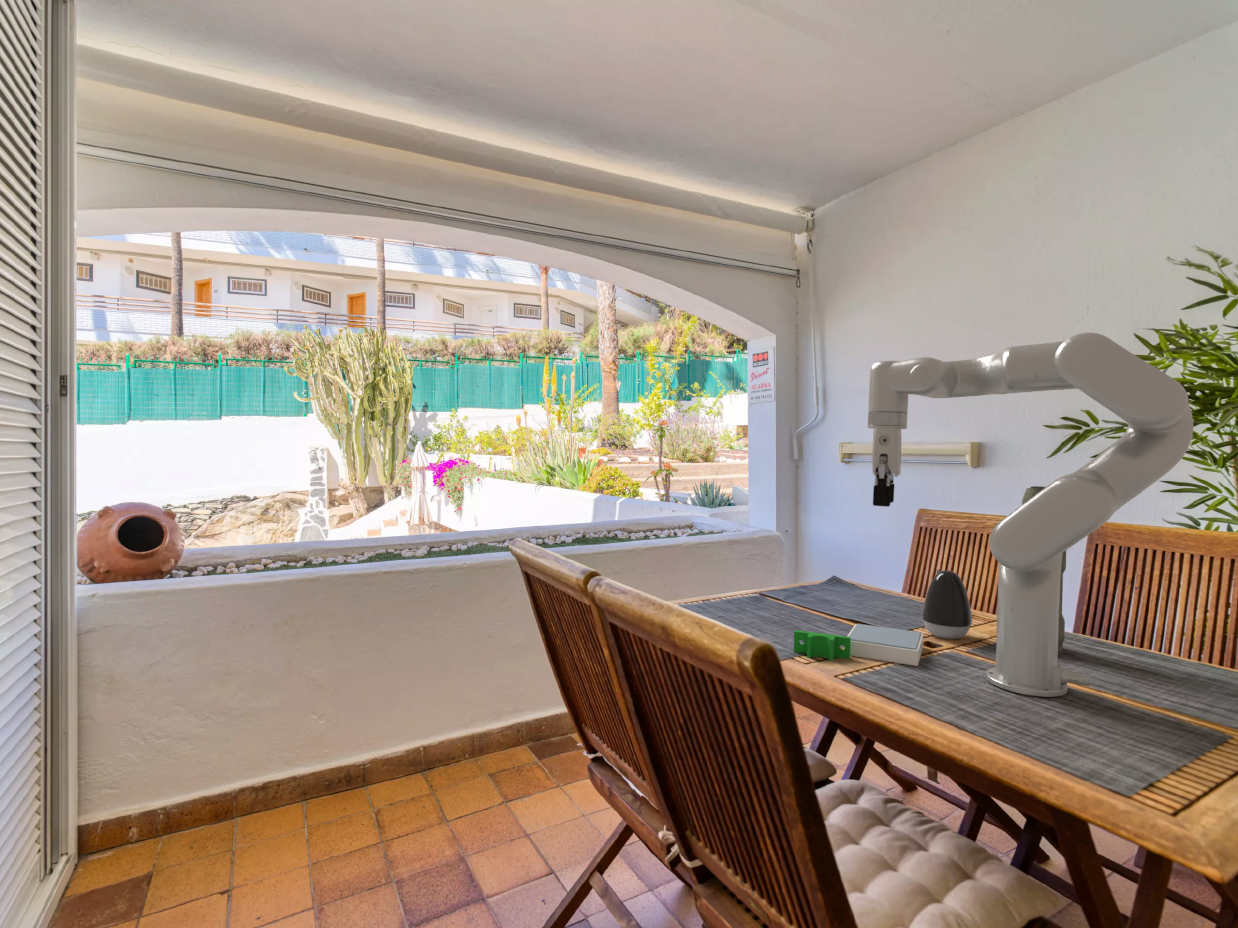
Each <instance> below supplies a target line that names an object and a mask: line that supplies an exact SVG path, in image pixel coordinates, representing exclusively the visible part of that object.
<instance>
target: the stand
mask: <svg viewBox="0 0 1238 928" xmlns="http://www.w3.org/2000/svg"><path fill="white" fill-rule="evenodd" d="M847 637H851V639H850V657H851V656H852V657H857V658H858V657H859V658H863V659H870V660H877V661H882V662H883V661H884V662H889V663H896V664H904V665H909V666H914V667H918V666H919V664H920V663H919V662H920V660H921V656H922V652H923V649H924V633H923V632H921V631H914V630H908V629H907V630H906V629H900V628H899V629H898V628H893V627H884V626H877V625H869V624H864V623H863V624H862V623H857V624H856V623H855V624H854V625H853V627H852V628H851V630H850V631H849V632H848V634H847ZM843 649H845V647H844V646H843Z"/></svg>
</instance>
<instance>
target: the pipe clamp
mask: <svg viewBox="0 0 1238 928" xmlns="http://www.w3.org/2000/svg"><path fill="white" fill-rule="evenodd" d="M847 636H848V635H847ZM847 636H845V635H838V634H837V635H836V634H829V633H823V632H822V633H821V632H814V631H806V630H797V629H796V630H794V631H793V653H800V654H806V658H808V659H811V658H813V657H821V658H826V659H828V660H829V661H830V662H834V660H835V658H837V659H846V660H850V659H851V655H850V639H851V637H847ZM800 641H801V642H802V643H801V642H800ZM841 646H843V648H841ZM844 647H845V649H844Z"/></svg>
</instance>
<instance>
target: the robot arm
mask: <svg viewBox="0 0 1238 928" xmlns="http://www.w3.org/2000/svg"><path fill="white" fill-rule="evenodd" d="M868 387H869V390H868V391H869V392H868V407H867V409H868V410H867V411H868V413H867V429H873V433H872V457H871V458H872V459H871V460H872V464H871V465H872V474H873V475H874V476H875V478H874V485H873V490H872V491H873V495H872V506H875V507H890V506H891V503H892V504H893V502H894V501H895V500H894V499H895V498H894V497H895V482H894V480H895V479H894V477H895V478H897V477H899V476H900V475H901V469H902V468H901V465H902V430H907V428H908V413H909V410H908V409H909V395H915V396H922V397H927V398H931V399H950V398H951V399H952V398H963V397H964V398H965V397H977V396H978V397H979V396H989V395H1007V394H1021V393H1033V392H1045V391H1061V390H1062V391H1063V390H1075V389H1076V390H1077V389H1078V390H1079V391H1080V392H1083V393H1084V394H1085V395H1086V396H1087V397H1089V398H1091V399H1092V400H1094V401H1095V402H1097V403H1098V404H1100V405H1101V406H1103V407H1104V408H1106V409H1107V410H1108V411H1110V412H1111V413H1113V414H1114V415H1116V416H1117V417H1119V418H1120V419H1121V420H1123V421H1124V422H1126V423H1127V428H1126V431H1125V432H1124V434H1122V436H1121V437H1120V438H1119V439H1117V440H1116V441H1115V442H1113V443H1112V444H1110V445H1109V446H1108V447H1107V448H1105V449H1104V450H1102V452H1100V453H1099V454H1098V455H1097V456H1096V457H1094V458H1093V459H1092V460H1090V461H1089V462H1087V463H1086V464H1084V465H1082V466H1081V467H1080V468H1078V469H1077V470H1076V471H1074V472H1072V473H1069V474H1065V475H1062V476H1060V477H1059V478H1056V479H1055V480H1053V481H1052V482H1050V483H1049V484H1047V486H1044V487H1045V488H1044V489H1042V490H1041V491H1040V492H1038V493H1037V494H1036V495H1034V496H1033V497H1032V498H1031V499H1029V500H1028V501H1027V502H1025V503H1024V504H1023V505H1022V504H1021V505H1020V506H1019V507H1017V508H1016V509H1014V511H1012V512H1011V513H1009V514H1008V515H1007V516H1005V517H1004V518H1003V519H1001V520H1000V521H998V522H997V524H996V525H995V526H994V527H993V529H992V530H991V532H990V535H989V538H988V543H989V550H990V552H991V554H992V556H993V557H994V559H995V561H997V563H999V569H998V576H997V577H998V578H997V579H998V581H997V601H996V602H997V604H996V607H997V608H996V636H995V637H996V640H995V642H996V645H995V650H996V651H995V667H991V668H989V669H987V670H986V672H985V678H986V680H987V681H988V682H989V683H991V684H992V685H994V686H996V687H998V688H1000V689H1002V690H1005V691H1009V692H1012V693H1016V694H1019V695H1020V694H1021V695H1025V696H1033V697H1041V698H1042V697H1043V698H1052V697H1053V698H1054V697H1061V696H1064V695H1066V694H1068V688H1069V687H1068V683H1071V684H1076V685H1078V686H1079V685H1080V686H1086V687H1090V682H1091V681H1090V680H1091V677H1090V674H1086V673H1080V671H1079V670H1075V669H1074V670H1073V669H1065V668H1064V667H1062V666H1061V665H1060V661H1059V660H1058V659H1059V658H1058V656H1059V654H1058V626H1059V603H1060V577H1061V564H1062V553H1063V552H1064V551H1066V552H1067V550H1069V549H1070V548H1071V547H1073V546H1075V545H1076V544H1078V543H1079V542H1080V541H1082V540H1083V539H1084V538H1086V537H1087V536H1089V535H1090V534H1092V533H1093V532H1095V531H1096V530H1097V529H1099V528H1100V527H1102V526H1104V524H1106V523H1107V522H1108V521H1109V520H1110V519H1111V517H1112V516H1113V515H1114V513H1116V512H1117V511H1118V510H1119V509H1120V508H1122V507H1123V506H1125V505H1126V504H1127V503H1129V502H1130V501H1132V500H1133V499H1134V498H1136V497H1137V496H1138V495H1140V494H1141V493H1142V492H1144V491H1145V490H1146V489H1148V488H1149V487H1151V486H1152V485H1153V484H1155V483H1156V482H1157V481H1159V480H1160V479H1162V477H1164V476H1166V474H1167V473H1169V472H1170V471H1171V470H1173V469H1174V468H1175V467H1176V465H1177V464H1179V463H1180V461H1181V460H1182V459H1183V457H1184V455H1186V453H1187V451H1188V449H1189V447H1190V444H1191V442H1192V439H1193V435H1194V419H1193V414H1192V410H1191V407H1190V406H1191V405H1190V403H1189V396H1188V393H1187V391H1186V389H1185V387H1184V386H1183V385H1182V383H1180V382H1179V381H1177V380H1176V379H1175V378H1173V377H1172V376H1170V375H1168V374H1167V373H1165V372H1164V371H1161V370H1160V369H1159V368H1156V367H1155V366H1153V365H1152V364H1151V363H1148V362H1147V361H1145V360H1144V359H1142V358H1141V357H1138V356H1137V355H1135V354H1134V353H1132V352H1131V351H1130V350H1127V348H1124V347H1123V346H1121V345H1120V344H1118V343H1116V342H1115V341H1114V340H1112V339H1111V338H1109V337H1107V336H1106V335H1103V334H1100V333H1097V332H1081V333H1077V334H1075V335H1072V336H1071V337H1069V338H1067V339H1065V340H1062V341H1054V342H1045V343H1038V344H1037V343H1036V344H1035V343H1034V344H1026V345H1015V346H1009V347H1005V348H1003V349H1001V350H999V351H996V352H995V353H994V354H991V355H987V356H983V357H978V358H972V359H963V360H961V359H960V360H953V361H952V360H951V361H942V360H940V359H937V358H934V357H928V356H924V357H918V358H917V357H916V358H911V359H907V360H906V359H905V360H885V361H884V360H882V361H877V362H874V363H873V364H872V365H871V366H870V369H869V386H868Z"/></svg>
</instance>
